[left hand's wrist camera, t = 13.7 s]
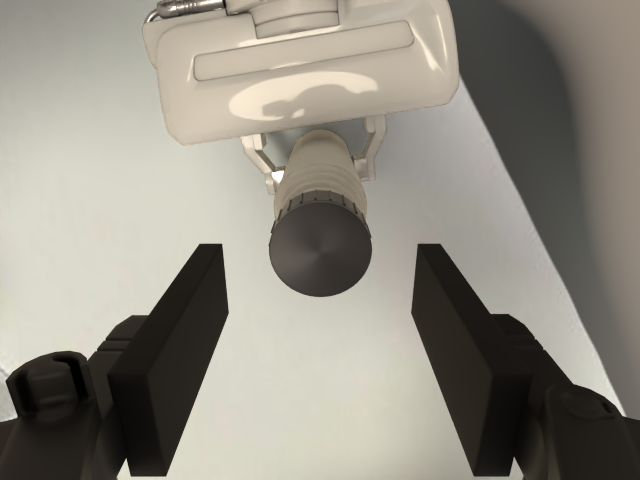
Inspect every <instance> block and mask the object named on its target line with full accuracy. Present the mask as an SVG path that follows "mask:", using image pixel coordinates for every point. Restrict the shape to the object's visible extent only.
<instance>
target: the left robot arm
mask: <svg viewBox="0 0 640 480" xmlns="http://www.w3.org/2000/svg"><path fill="white" fill-rule="evenodd" d="M228 314H229V311H228V300H227V290H226V279H225V269H224V258H223V248H222V244H199V246H198V247H197V248H196V250H195V251H194V253H193V254H192V255H191V257H190V258H189V260H188V261H187V262H186V264H185V265H184V267H183V268H182V269H181V271H180V272H179V274H178V275H177V276H176V278H175V279H174V281H173V282H172V283H171V285H170V286H169V288H168V289H167V290H166V292H165V293H164V295H163V296H162V297H161V299H160V300H159V302H158V303H157V304H156V306H155V307H154V309H153V310H152V311H151V313H150V314H149V315H132V316H130V317H129V318H127V319H126V320H124V321H123V322H121V323H120V324H118V325H117V326H115V328H114V329H113V330H112V331H111V333H110V334H109V335H108V336H107V337H106V341H103V342H102V344H101V345H100V346H99V347H98V348H97V351H95V352H94V353H93V355H92V356H91V357H90V358H89V360H88V361H87V358H86V357H85V356H84V355H82V354H81V353H78V352H73V351H61V352H54V353H50V354H46V355H43V356H39V357H37V358H35V359H33V360H31V361H29V362H26V363H25V364H23V365H22V366H20V367H19V368H18V369H16V370H15V371H13V372H12V374H11V375H10V376H9V377H8V378H7V380H6V384H7V387H8V390H9V393H10V396H11V398H12V401H13V404H14V407H15V410H16V412H17V415H18V417H17V418H16V419H12V420H8V421H4V422H0V480H118V479H117V475H118V473H119V471H120V469H121V467H122V465H123V463H124V461H125V459H126V458H127V462H128V467H129V471H130V475H131V476H166V475H167V473H168V470H169V467H170V465H171V462H172V460H173V457H174V454H175V452H176V449H177V447H178V444H179V441H180V439H181V436H182V434H183V431H184V428H185V426H186V423H187V421H188V418H189V415H190V413H191V410H192V407H193V405H194V402H195V400H196V397H197V394H198V392H199V389H200V387H201V384H202V381H203V379H204V376H205V374H206V371H207V368H208V366H209V363H210V361H211V358H212V355H213V353H214V350H215V348H216V345H217V342H218V340H219V337H220V335H221V332H222V329H223V327H224V324H225V322H226V319H227V316H228ZM411 314H412V316H413V319H414V322H415V324H416V327H417V329H418V332H419V335H420V337H421V340H422V342H423V345H424V348H425V350H426V353H427V355H428V358H429V361H430V363H431V366H432V368H433V371H434V374H435V376H436V379H437V381H438V384H439V387H440V389H441V392H442V394H443V397H444V400H445V402H446V405H447V408H448V410H449V413H450V415H451V418H452V421H453V423H454V426H455V428H456V431H457V434H458V436H459V439H460V441H461V444H462V447H463V449H464V452H465V454H466V457H467V460H468V462H469V465H470V467H471V470H472V473H473V475H474V476H509V475H510V471H511V467H512V462H513V458H514V457H515V459H516V461H517V463H518V465H519V467H520V469H521V471H522V473H523V479H522V480H640V420H635V419H631V418H627V417H624V416H622V415H621V413H620V412H619V410H618V409H617V408H616V406H615V405H614V404H613V403H611V402H610V401H609V400H608V399H606V398H605V397H604V396H602V395H600V394H598V393H596V392H594V391H592V390H591V389H588V388H585V387H581V386H578V385H575V384H573V383H572V382H571V381H570V380H569V378H568V377H567V376H566V375H565V373H564V372H563V371H562V370H561V369H560V367H559V366H558V365H557V364H556V363H555V361H554V360H553V359H552V358H551V356H550V355H549V354H548V353H547V352H546V350H543V347H542V345H541V344H540V343H539V342H538V341H537V339H535V337H534V336H533V334H532V333H531V332H530V331H529V330H528V328H527V327H526V326H525V325H524V324H523V323H521V322H520V321H518V320H517V319H515V318H513V317H512V316H510V315H509V314H490V313H489V311H488V310H487V309H486V307H485V306H484V304H483V303H482V302H481V300H480V299H479V297H478V296H477V295H476V293H475V292H474V290H473V289H472V288H471V286H470V285H469V283H468V282H467V281H466V279H465V278H464V276H463V275H462V274H461V272H460V271H459V269H458V268H457V267H456V265H455V264H454V262H453V261H452V260H451V258H450V257H449V255H448V254H447V253H446V251H445V250H444V248H443V247H442V246H441V244H418V248H417V258H416V269H415V279H414V290H413V300H412V311H411Z"/></svg>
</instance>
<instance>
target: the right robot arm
mask: <svg viewBox="0 0 640 480" xmlns="http://www.w3.org/2000/svg"><path fill="white" fill-rule="evenodd" d="M226 7H227V9H226ZM187 14H191V15H187ZM183 15H185V16H183ZM157 16H160V17H161V18H162V19H163V20H157V21H153V20H154V19H155V18H156V17H157ZM142 32H143V38H144V42H145V45H146V49H147V52H148V56H149V59H150V61H151V63H152V65H153V66H154V68H155V69H156V70H157V78H158V87H159V94H160V100H161V105H162V111H163V115H164V120H165V124H166V128H167V131H168V133H169V134H170V136H172V137H173V138H174V139H175V140H176V141H177V142H179V143H180V144H181V145H192V144H198V143H204V142H211V141H217V140H223V139H230V138H236V137H241V139H242V143H243V148H244V153H245V154H246V155H247V156H248V157H249V158H250V159H251V161H252V162H253V163H254V164H255V165H256V166H257V167H258V169H259V170H260V171H261V172H262V173H264V174H265V178H266V183H267V188H268V193H269V195H275V194H276V191H277V189H278V186H279V184H280V181H281V178H282V176H283V173H284V171H285V168H286V166H281V167H275V166H274V164H273V163H272V162H271V161H270V159H269V158H268V157H267V156H266V155H265V153H264V152H263V151H262V149H263V148H264V146H265V145H266V139H265V133H268V132H274V131H280V130H287V129H293V128H299V127H306V126H312V125H318V124H325V123H331V122H337V121H344V120H350V119H356V118H363V124H364V129H365V130H366V131H367V132H368V133H370V135H369V138H368V140H367V143H366V145H365V148H364V150H363V153H362V154H359V155H353V156H352V161H353V163H354V166H355V169H356V171H357V174H358V176H359V179H360V181H369V180H375V167H374V156H375V155H376V153H377V151H378V149H379V146H380V144H381V142H382V140H383V138H384V135H385V133H386V119H385V114H388V113H395V112H401V111H407V110H414V109H420V108H426V107H433V106H439V105H445V104H447V103H449V102H450V100H451V99H452V97H453V96H454V94H455V93H456V91H457V89H458V86H459V64H458V53H457V44H456V37H455V30H454V24H453V18H452V14H451V9H450V6H449V3H448V1H447V0H163V1H160V2H158V3H157V8H156V9H154V10H153V11H151V12H150V13H149V14H148V16H147V17H146V19H145V21H144V25H143V29H142Z"/></svg>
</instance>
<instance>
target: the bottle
mask: <svg viewBox="0 0 640 480" xmlns="http://www.w3.org/2000/svg"><path fill="white" fill-rule="evenodd" d="M315 189H317V190H326V191H329V190H331V191H332V192H335V193H338V194H341V195H342V194H343V195H344V196H345V197H346V198H348V199H349V200H351V201H352V202H353V203H354V202H355V204H356V206H357V207H358V209H359V210H360V211H361V213H363V214H364V217H365V218H366V213H367V200H366V195H365V192H364V189H363V187H362V184H361V181H360V179H359V176H358V174H357V171H356V169H355V166H354V163H353V161H352V158H351V156H350V153H349V151H348V148H347V146H346V144H345V142H344V141H343V140H342V139H341V137H339V136H338V135H337V134H335V133H333V132H331V131H328V130H324V129H318V130H312V131H309V132H307V133H305V134H304V135H303V136H301V137H300V138H299V139H298V141H297V142H296V144H295V145H294V148H293V150H292V153H291V155H290V158H289V160H288V163H287V165H286V168H285V171H284V173H283V176H282V178H281V181H280V184H279V186H278V189H277V191H276V195H275V199H274V214H275V220H276V219H277V217H278V215H279V212H280V209H283V207H284V206H285V205H286V204H287V203H288V202H289V200H290V199H291V200H292V199H293V198H295V197H296V196H298V195H300V194H301V193H302V192H303V193H305V192H309V191H315Z"/></svg>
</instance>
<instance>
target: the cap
mask: <svg viewBox="0 0 640 480" xmlns="http://www.w3.org/2000/svg"><path fill="white" fill-rule="evenodd" d="M271 233H272V235H271V239H270V242H269V255H270V260H271V264H272V266H273V268H274V271H275V272H276V274H277V275H278V277H279V278H280V279H281V280H282V281H283V282H284V283H285V284H286V285H287V286H289V287H290V288H291V289H293V290H295V291H297V292H299V293H302V294H305V295H308V296H314V297H327V296H333V295H336V294H339V293H342V292H344V291H346V290H348V289H349V288H351V287H352V286H354V285H355V284H356V283H357V282H358V281H359V280H360V279H361V278H362V277H363V275H364V274H365V272H366V270H367V268H368V266H369V263H370V260H371V254H372V244H371V239H370V238H371V234H370V231H369V228H368V225H367V224H366V221H365V217H364V214H363V213H361V211H360V210H359V209H358V207H357V206H356V204H355V202H354V203H353V202H352V201H351V200H349V199H348V198H346V197H345V196H344V195H343V194H342V195H341V194H338V193H335V192H332V191H331V190H329V191H326V190H317V189H315V191H309V192H305V193H303V192H302V193H301V194H300V195H298V196H296V197H295V198H293V199H292V200H291V199H290V200H289V202H288V203H287V204H286V205H285V206H284V207H283V209H280V212H279V215H278V217H277V219H276V220H275V221H274V224H273V227H272V230H271Z"/></svg>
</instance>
